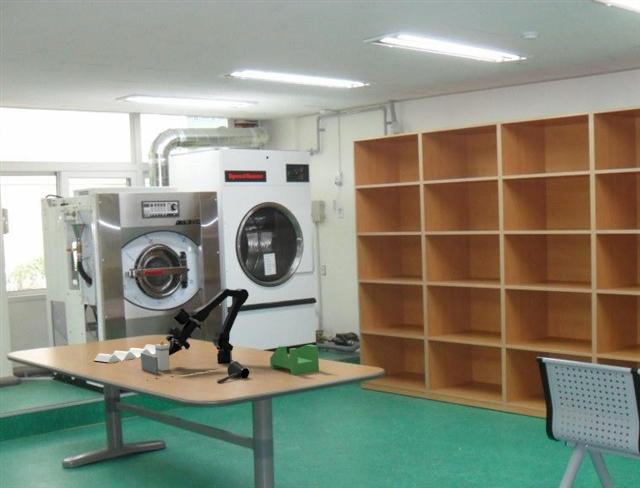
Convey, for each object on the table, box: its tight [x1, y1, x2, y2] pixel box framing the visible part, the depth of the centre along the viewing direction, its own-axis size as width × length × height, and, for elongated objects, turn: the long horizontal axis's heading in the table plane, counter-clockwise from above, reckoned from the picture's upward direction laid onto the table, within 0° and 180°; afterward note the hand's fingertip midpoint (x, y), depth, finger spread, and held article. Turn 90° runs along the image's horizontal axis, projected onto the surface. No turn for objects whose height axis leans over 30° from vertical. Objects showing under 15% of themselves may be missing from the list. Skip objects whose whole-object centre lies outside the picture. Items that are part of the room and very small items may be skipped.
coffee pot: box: [216, 360, 250, 384], centre depth 381 cm, size 8×18×8 cm
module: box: [154, 340, 171, 372], centre depth 412 cm, size 4×7×14 cm, turn 31°
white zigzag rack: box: [93, 343, 156, 364], centre depth 464 cm, size 13×35×5 cm, turn 137°
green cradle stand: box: [269, 344, 320, 376], centre depth 397 cm, size 24×13×12 cm, turn 29°
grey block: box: [140, 353, 160, 375], centre depth 411 cm, size 14×20×9 cm
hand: (166, 355), depth 413 cm, fingers closed, pressing on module
